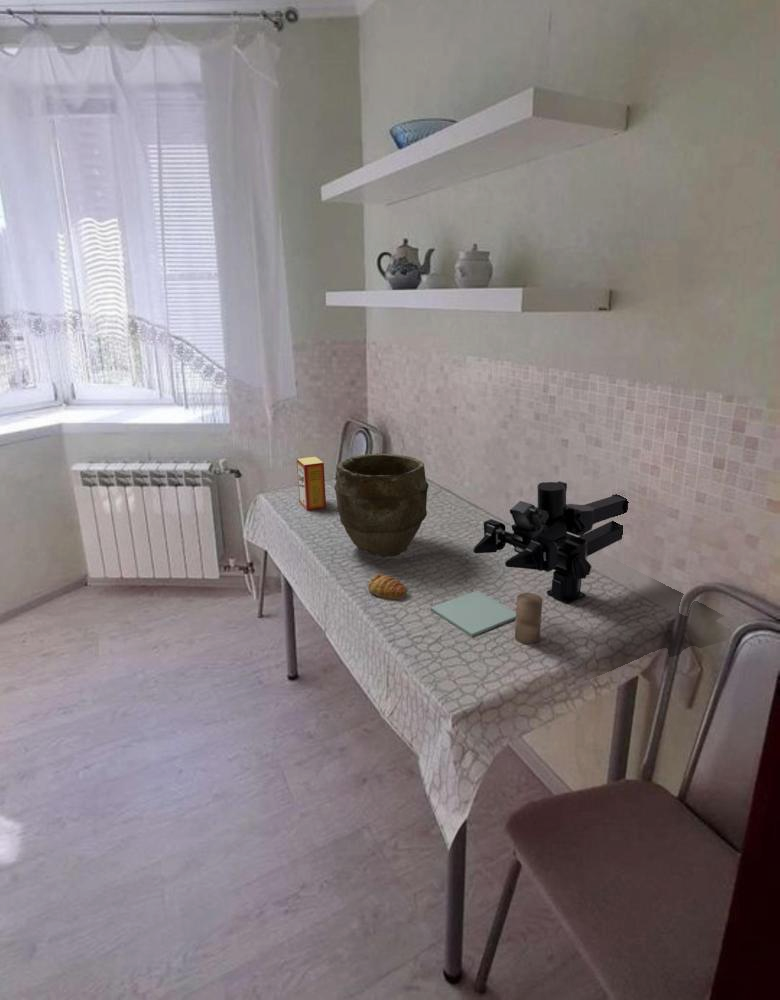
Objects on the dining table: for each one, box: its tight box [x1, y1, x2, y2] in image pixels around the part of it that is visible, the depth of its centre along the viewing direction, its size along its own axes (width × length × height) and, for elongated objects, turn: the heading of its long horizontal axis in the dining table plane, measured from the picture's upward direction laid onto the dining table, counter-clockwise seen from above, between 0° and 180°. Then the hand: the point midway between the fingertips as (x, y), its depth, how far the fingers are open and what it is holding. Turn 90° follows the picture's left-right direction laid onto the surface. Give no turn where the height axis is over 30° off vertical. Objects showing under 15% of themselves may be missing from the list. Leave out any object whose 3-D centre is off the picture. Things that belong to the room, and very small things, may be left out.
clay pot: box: [333, 452, 430, 558], centre depth 169 cm, size 25×25×25 cm
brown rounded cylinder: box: [514, 592, 543, 645], centre depth 125 cm, size 5×5×9 cm
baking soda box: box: [296, 455, 327, 512], centre depth 206 cm, size 10×6×16 cm
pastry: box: [367, 573, 408, 600], centre depth 146 cm, size 9×7×4 cm
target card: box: [429, 590, 516, 637], centre depth 137 cm, size 14×14×1 cm
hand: (489, 557), depth 125 cm, fingers open, 9 cm apart
